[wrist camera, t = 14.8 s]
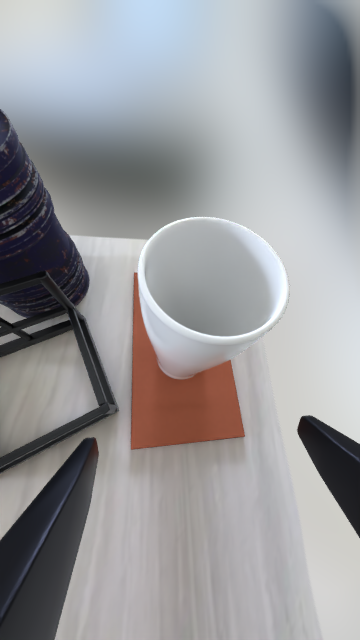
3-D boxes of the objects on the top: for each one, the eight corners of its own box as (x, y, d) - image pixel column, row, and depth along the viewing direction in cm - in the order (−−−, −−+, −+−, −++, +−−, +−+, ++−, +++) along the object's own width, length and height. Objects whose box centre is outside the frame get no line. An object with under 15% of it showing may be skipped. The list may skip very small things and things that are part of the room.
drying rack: (119, 410, 19) (91, 411, 11) (-10, 479, 16) (-177, 549, 8) (85, 318, 23) (45, 269, 15) (-26, 360, 20) (-153, 326, 12)
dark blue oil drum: (-10, 319, 22) (-281, 174, 8) (18, 252, 26) (-134, 81, 12) (83, 320, 23) (-24, 194, 9) (96, 256, 27) (34, 102, 13)
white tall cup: (213, 385, 21) (317, 341, 7) (150, 390, 20) (133, 350, 6) (205, 326, 24) (269, 216, 10) (149, 329, 23) (135, 211, 9)
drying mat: (243, 436, 20) (245, 436, 19) (131, 448, 18) (130, 449, 18) (213, 274, 28) (214, 272, 27) (134, 274, 26) (134, 272, 26)
